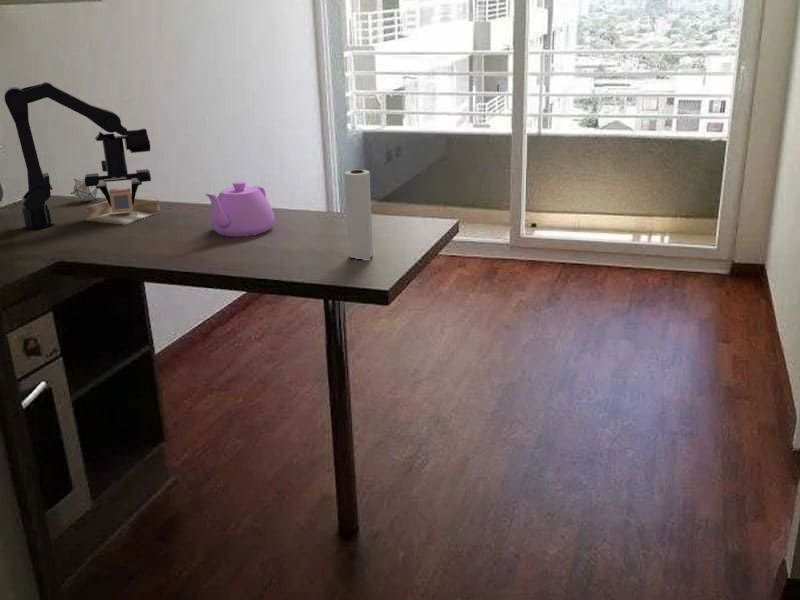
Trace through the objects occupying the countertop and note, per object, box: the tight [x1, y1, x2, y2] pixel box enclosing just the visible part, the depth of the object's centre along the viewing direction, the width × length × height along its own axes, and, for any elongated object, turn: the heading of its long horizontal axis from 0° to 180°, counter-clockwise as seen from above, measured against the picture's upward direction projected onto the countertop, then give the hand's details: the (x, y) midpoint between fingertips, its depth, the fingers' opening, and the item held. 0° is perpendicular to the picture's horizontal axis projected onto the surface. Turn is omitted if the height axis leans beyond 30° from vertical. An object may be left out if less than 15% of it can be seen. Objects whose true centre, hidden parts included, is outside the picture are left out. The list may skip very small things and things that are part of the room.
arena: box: [84, 197, 161, 226], centre depth 243 cm, size 15×15×4 cm
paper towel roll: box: [344, 169, 374, 259], centre depth 193 cm, size 7×6×21 cm
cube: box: [108, 187, 133, 213], centre depth 242 cm, size 6×6×6 cm
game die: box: [70, 178, 98, 204], centre depth 263 cm, size 9×8×10 cm
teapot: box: [205, 181, 276, 237], centre depth 222 cm, size 25×18×14 cm
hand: (122, 205), depth 243 cm, fingers closed on cube, 6 cm apart
